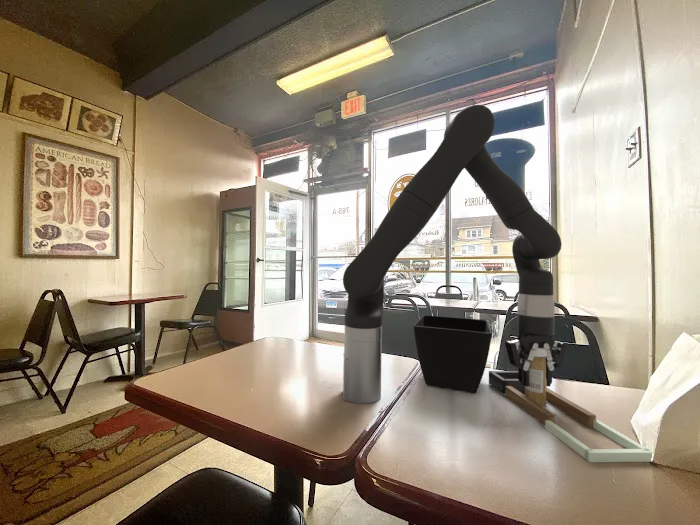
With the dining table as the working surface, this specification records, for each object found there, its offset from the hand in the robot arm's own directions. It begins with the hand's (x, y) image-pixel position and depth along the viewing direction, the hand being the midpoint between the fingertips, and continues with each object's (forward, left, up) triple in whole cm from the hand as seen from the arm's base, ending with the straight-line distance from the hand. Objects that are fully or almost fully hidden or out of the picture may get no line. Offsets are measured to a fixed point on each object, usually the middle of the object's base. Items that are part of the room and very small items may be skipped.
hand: (535, 384), depth 70 cm
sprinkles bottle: (0, 0, -5) cm, 5 cm away
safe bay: (0, -16, -4) cm, 17 cm away
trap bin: (0, +8, -4) cm, 10 cm away
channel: (0, -4, -4) cm, 6 cm away
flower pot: (-15, +13, -5) cm, 20 cm away
